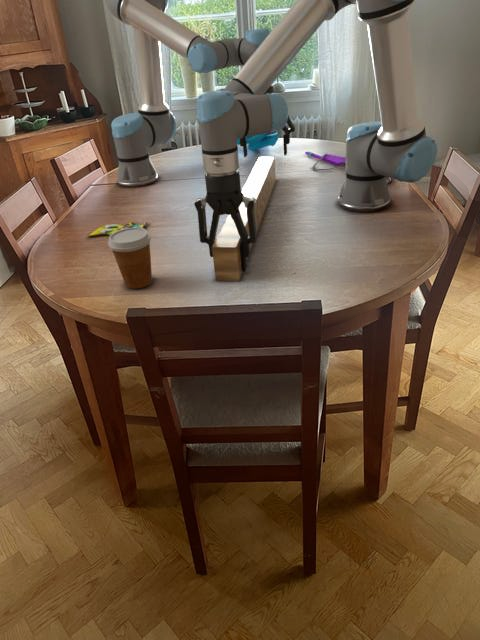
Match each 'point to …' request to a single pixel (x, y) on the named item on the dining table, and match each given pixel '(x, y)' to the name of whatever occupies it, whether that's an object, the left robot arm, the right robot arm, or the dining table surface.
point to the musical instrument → (328, 159)
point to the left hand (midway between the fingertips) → (265, 155)
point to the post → (228, 238)
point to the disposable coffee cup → (132, 255)
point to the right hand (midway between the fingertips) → (231, 268)
